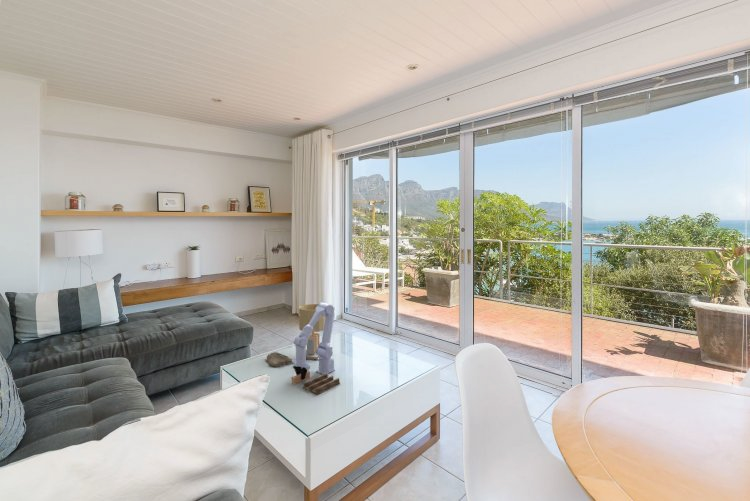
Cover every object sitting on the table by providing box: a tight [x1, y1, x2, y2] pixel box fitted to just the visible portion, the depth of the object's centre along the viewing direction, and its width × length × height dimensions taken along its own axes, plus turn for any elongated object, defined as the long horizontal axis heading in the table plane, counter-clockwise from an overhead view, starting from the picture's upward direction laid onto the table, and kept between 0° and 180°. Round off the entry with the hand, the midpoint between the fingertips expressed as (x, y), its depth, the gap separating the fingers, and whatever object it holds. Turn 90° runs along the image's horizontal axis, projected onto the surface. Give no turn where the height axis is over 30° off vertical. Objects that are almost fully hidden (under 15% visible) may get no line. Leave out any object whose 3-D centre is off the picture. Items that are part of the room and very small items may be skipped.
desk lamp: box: [298, 303, 325, 361], centre depth 249 cm, size 20×20×35 cm
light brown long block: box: [291, 370, 311, 385], centre depth 211 cm, size 12×2×4 cm, turn 141°
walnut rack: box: [302, 373, 341, 396], centre depth 203 cm, size 18×12×3 cm, turn 141°
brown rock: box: [265, 351, 293, 368], centre depth 239 cm, size 14×5×20 cm
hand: (301, 378), depth 211 cm, fingers open, 4 cm apart
